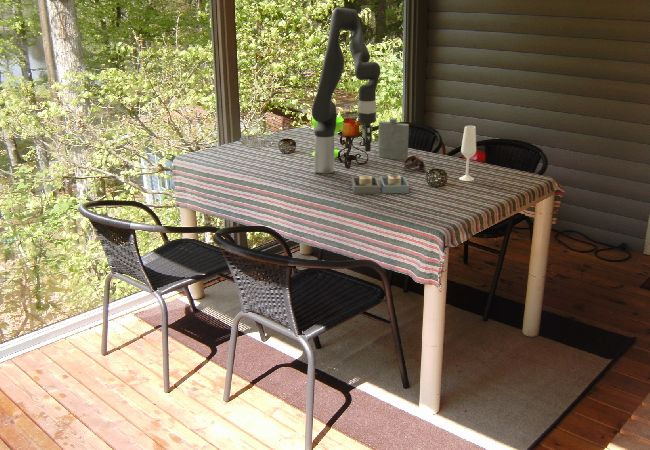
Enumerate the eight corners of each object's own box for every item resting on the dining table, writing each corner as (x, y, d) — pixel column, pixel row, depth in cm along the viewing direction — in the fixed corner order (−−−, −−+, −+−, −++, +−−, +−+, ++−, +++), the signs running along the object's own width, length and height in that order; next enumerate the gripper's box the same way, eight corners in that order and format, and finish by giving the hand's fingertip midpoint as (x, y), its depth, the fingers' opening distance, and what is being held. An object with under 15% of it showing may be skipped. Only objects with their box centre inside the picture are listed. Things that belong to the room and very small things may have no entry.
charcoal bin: (354, 194, 311) (354, 186, 310) (351, 185, 324) (351, 177, 323) (379, 194, 311) (380, 186, 310) (376, 184, 324) (376, 176, 323)
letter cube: (389, 189, 315) (389, 178, 314) (387, 186, 320) (388, 174, 318) (400, 189, 316) (401, 178, 314) (399, 186, 320) (399, 174, 318)
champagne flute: (464, 175, 337) (468, 124, 329) (477, 178, 333) (480, 126, 324) (456, 178, 333) (459, 126, 324) (468, 181, 328) (472, 129, 320)
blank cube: (360, 190, 315) (360, 179, 313) (359, 186, 320) (359, 175, 318) (371, 190, 315) (372, 178, 313) (370, 186, 320) (370, 175, 318)
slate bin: (383, 194, 311) (383, 186, 310) (379, 184, 324) (379, 176, 323) (409, 194, 312) (409, 186, 310) (404, 184, 325) (404, 176, 324)
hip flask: (408, 158, 365) (410, 119, 358) (405, 160, 362) (406, 120, 355) (379, 154, 372) (380, 116, 365) (376, 156, 369) (377, 117, 362)
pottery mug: (427, 174, 341) (420, 160, 337) (408, 182, 344) (401, 168, 340) (426, 161, 351) (418, 147, 347) (407, 168, 354) (400, 155, 350)
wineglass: (343, 158, 366) (344, 123, 359) (311, 158, 366) (311, 123, 360) (343, 150, 381) (343, 116, 374) (312, 150, 381) (312, 116, 375)
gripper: (356, 107, 312) (356, 144, 318) (359, 114, 299) (359, 153, 304) (374, 107, 313) (373, 144, 318) (378, 114, 299) (377, 152, 305)
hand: (366, 148), depth 311 cm, fingers open, 8 cm apart
